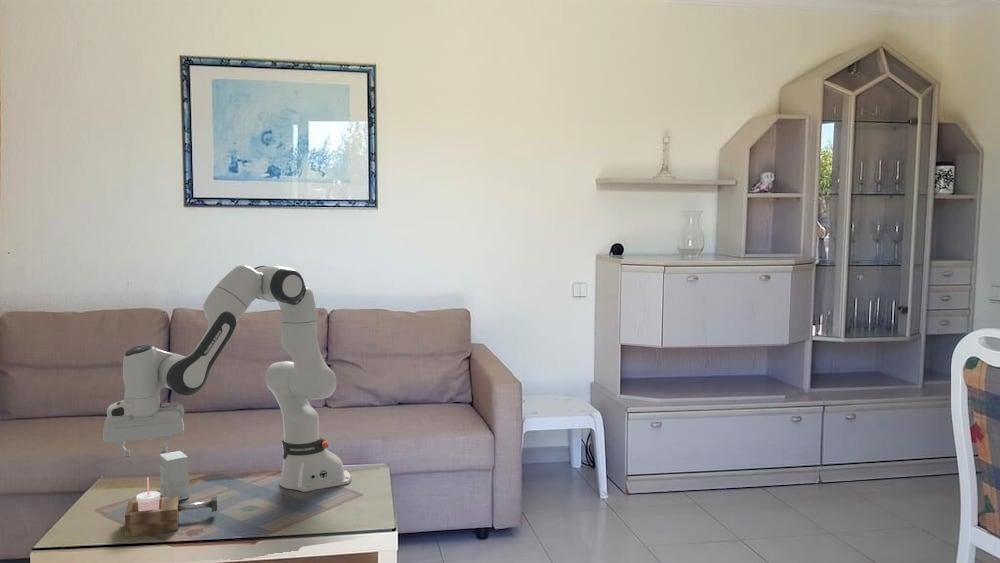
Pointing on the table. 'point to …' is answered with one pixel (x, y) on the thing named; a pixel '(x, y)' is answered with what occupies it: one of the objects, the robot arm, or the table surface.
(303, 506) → the table surface
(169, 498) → the socket block
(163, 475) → the small box
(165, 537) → the table surface
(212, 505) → the lock pin
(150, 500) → the beverage cup
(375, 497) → the table surface
